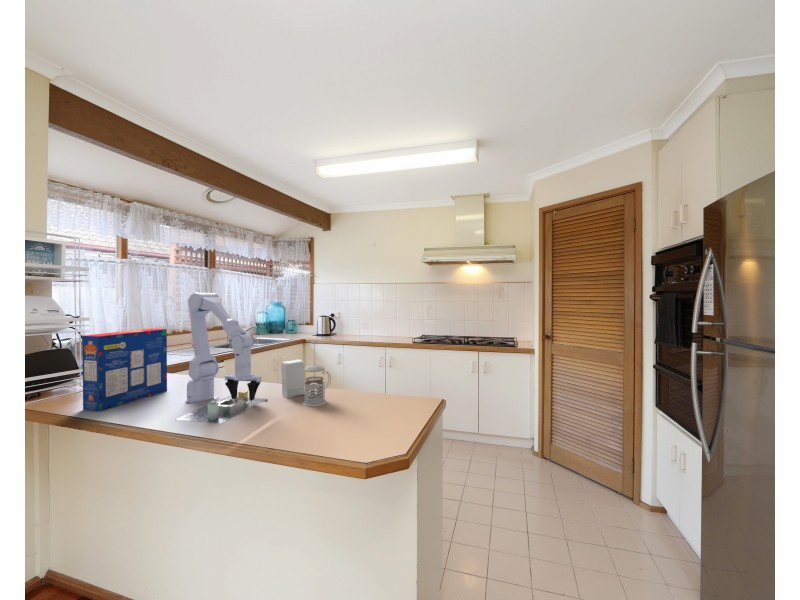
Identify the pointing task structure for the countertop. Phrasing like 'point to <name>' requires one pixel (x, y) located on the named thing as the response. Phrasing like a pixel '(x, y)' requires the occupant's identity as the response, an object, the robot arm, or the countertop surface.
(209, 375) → the robot arm
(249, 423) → the countertop surface
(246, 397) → the pin
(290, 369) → the skincare box
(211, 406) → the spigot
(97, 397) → the blue flat upright box
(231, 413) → the dock
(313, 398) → the french press
